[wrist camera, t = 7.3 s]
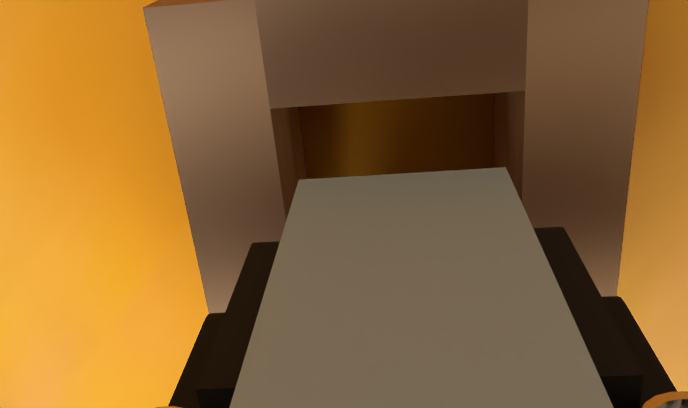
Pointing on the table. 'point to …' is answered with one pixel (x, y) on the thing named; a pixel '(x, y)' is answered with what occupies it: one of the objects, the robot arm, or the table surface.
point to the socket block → (396, 84)
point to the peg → (414, 302)
